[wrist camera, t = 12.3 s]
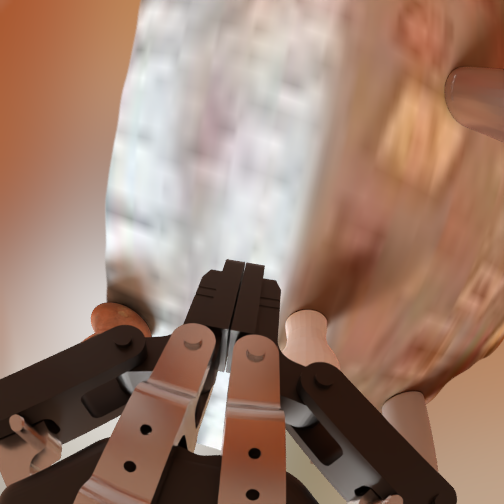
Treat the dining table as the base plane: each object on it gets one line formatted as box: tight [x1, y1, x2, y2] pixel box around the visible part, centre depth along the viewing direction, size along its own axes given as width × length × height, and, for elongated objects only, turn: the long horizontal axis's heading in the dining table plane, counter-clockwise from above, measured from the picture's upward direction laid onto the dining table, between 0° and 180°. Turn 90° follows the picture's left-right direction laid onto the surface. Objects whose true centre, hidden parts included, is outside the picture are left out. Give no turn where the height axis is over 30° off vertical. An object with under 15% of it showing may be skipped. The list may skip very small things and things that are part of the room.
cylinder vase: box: [382, 391, 438, 472], centre depth 56 cm, size 12×12×25 cm
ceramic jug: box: [84, 302, 152, 341], centre depth 53 cm, size 18×14×14 cm
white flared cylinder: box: [282, 310, 340, 370], centre depth 46 cm, size 11×11×15 cm
